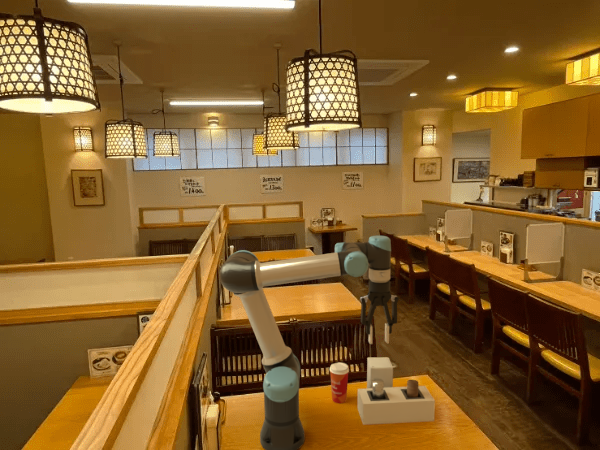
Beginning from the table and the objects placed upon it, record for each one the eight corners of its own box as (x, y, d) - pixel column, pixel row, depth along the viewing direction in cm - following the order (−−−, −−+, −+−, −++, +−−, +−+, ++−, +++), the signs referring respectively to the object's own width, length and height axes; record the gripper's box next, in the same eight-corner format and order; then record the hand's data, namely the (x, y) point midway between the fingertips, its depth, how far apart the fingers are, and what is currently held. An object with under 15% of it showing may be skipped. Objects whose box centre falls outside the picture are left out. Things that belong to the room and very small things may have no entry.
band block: (363, 424, 148) (363, 404, 146) (357, 408, 158) (357, 388, 156) (434, 421, 149) (434, 400, 148) (424, 405, 159) (424, 385, 158)
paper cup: (326, 397, 166) (325, 364, 163) (342, 392, 169) (342, 360, 167) (335, 407, 158) (335, 373, 156) (352, 402, 162) (353, 368, 160)
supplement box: (393, 403, 160) (393, 367, 158) (369, 403, 160) (370, 367, 158) (388, 391, 169) (389, 356, 167) (366, 391, 169) (367, 356, 167)
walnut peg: (408, 405, 151) (409, 385, 150) (405, 398, 155) (405, 379, 154) (419, 404, 151) (420, 385, 150) (415, 398, 155) (416, 379, 154)
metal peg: (373, 404, 150) (373, 384, 149) (371, 398, 154) (371, 378, 153) (384, 403, 150) (384, 384, 149) (381, 397, 154) (382, 378, 153)
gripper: (355, 283, 141) (355, 347, 144) (408, 281, 142) (406, 345, 146) (351, 277, 148) (351, 338, 152) (401, 276, 150) (400, 336, 153)
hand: (378, 342), depth 149 cm, fingers open, 5 cm apart
